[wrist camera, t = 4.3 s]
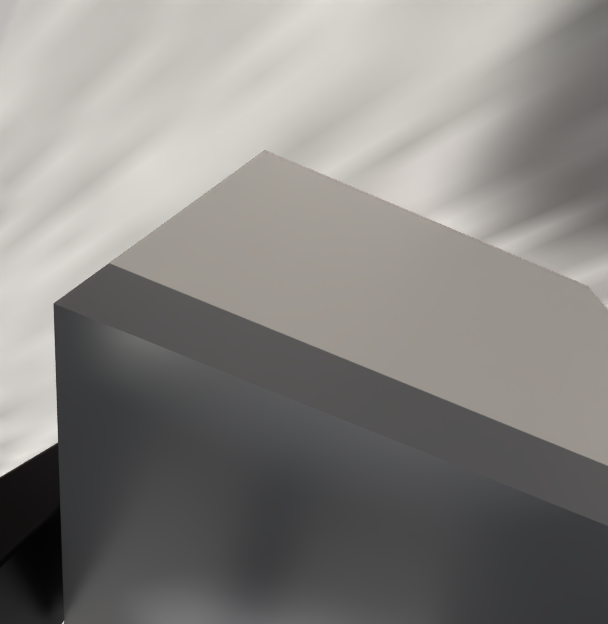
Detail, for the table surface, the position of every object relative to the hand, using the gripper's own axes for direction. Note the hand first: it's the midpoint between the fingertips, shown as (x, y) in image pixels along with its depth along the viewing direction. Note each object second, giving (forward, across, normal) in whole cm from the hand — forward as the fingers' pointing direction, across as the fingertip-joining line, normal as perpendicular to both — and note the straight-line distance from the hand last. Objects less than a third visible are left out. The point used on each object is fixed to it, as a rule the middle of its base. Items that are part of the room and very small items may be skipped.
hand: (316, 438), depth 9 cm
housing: (+1, 0, 0) cm, 1 cm away
